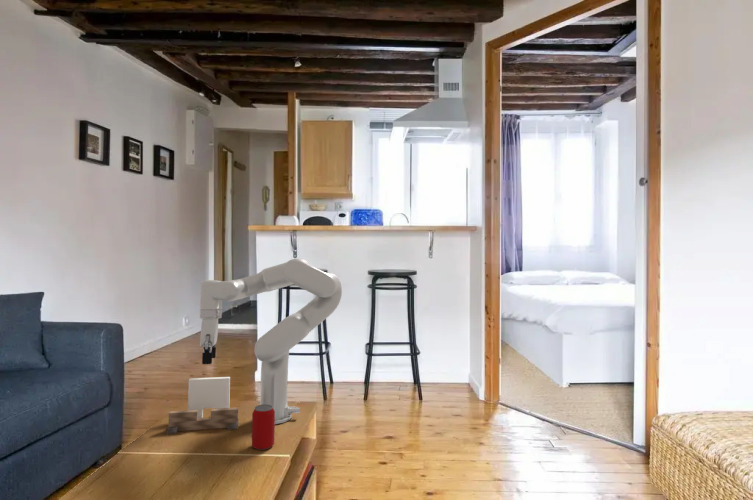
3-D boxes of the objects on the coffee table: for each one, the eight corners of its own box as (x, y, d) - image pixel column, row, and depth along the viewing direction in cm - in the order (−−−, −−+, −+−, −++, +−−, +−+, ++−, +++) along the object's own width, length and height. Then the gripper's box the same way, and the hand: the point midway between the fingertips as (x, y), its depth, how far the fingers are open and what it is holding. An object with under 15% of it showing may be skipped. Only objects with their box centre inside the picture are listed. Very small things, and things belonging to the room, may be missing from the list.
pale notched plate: (188, 417, 160) (189, 378, 161) (229, 414, 164) (230, 376, 164) (187, 419, 159) (188, 379, 159) (228, 416, 162) (229, 378, 162)
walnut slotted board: (238, 422, 156) (238, 405, 156) (236, 429, 150) (237, 411, 150) (171, 427, 151) (171, 409, 151) (166, 433, 145) (167, 415, 145)
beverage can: (268, 440, 141) (268, 402, 141) (278, 447, 136) (278, 407, 136) (247, 445, 137) (248, 406, 137) (257, 453, 131) (258, 412, 132)
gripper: (203, 311, 170) (201, 356, 169) (195, 316, 153) (193, 366, 152) (224, 311, 171) (222, 355, 171) (218, 316, 154) (216, 366, 154)
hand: (209, 360), depth 162 cm, fingers open, 9 cm apart
